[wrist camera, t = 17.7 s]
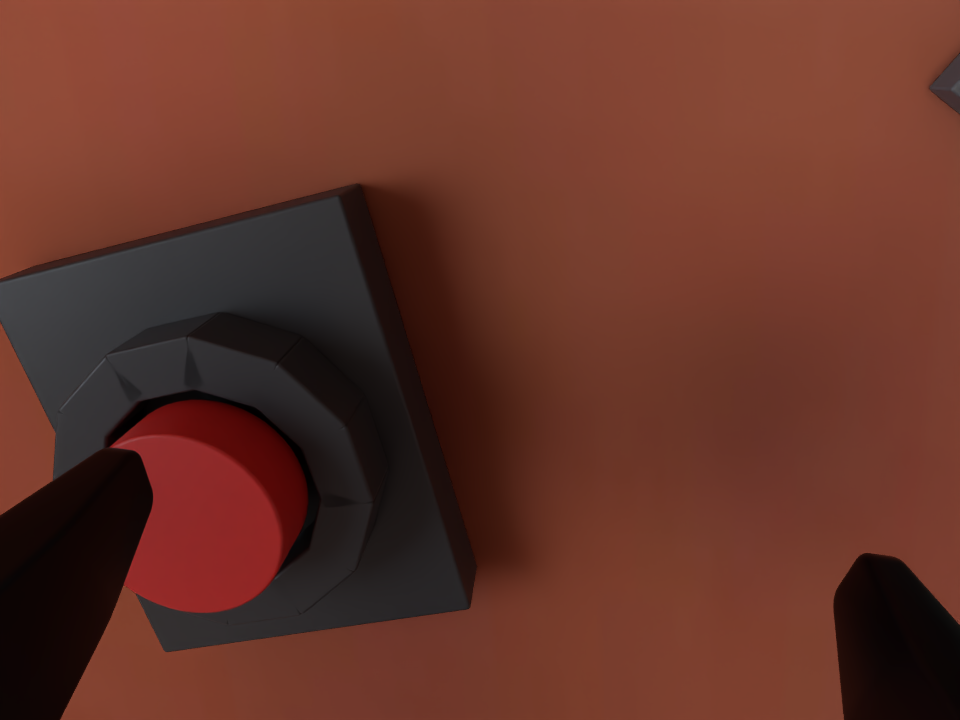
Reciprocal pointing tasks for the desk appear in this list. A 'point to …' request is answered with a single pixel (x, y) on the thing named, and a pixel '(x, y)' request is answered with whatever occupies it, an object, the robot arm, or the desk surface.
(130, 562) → the robot arm
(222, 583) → the button
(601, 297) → the desk surface
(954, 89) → the coffee maker
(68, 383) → the button pad
